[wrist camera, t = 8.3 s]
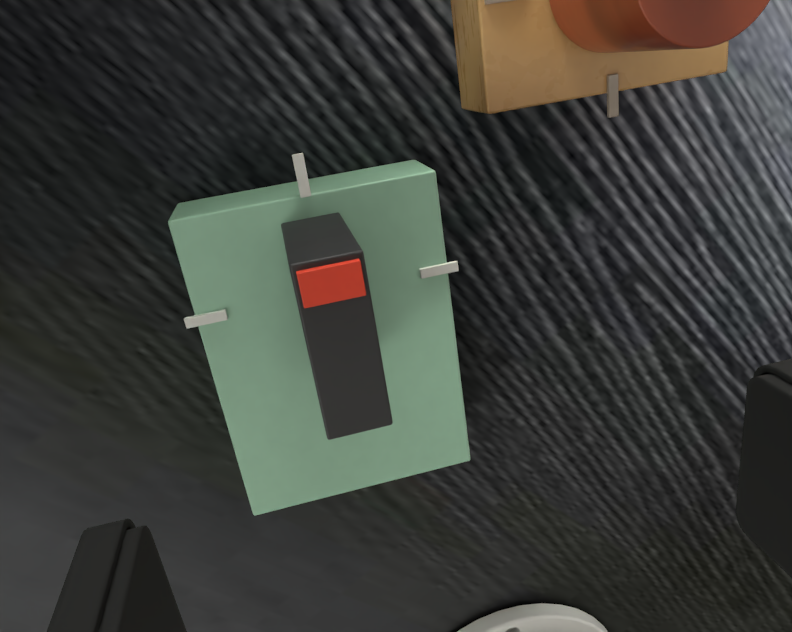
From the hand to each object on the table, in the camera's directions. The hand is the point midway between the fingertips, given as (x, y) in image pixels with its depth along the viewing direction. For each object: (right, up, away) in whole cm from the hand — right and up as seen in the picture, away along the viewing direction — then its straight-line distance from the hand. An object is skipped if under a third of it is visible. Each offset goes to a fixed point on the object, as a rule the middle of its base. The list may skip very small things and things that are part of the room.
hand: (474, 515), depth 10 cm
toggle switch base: (-4, +3, +16) cm, 17 cm away
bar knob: (-4, +4, +13) cm, 14 cm away
